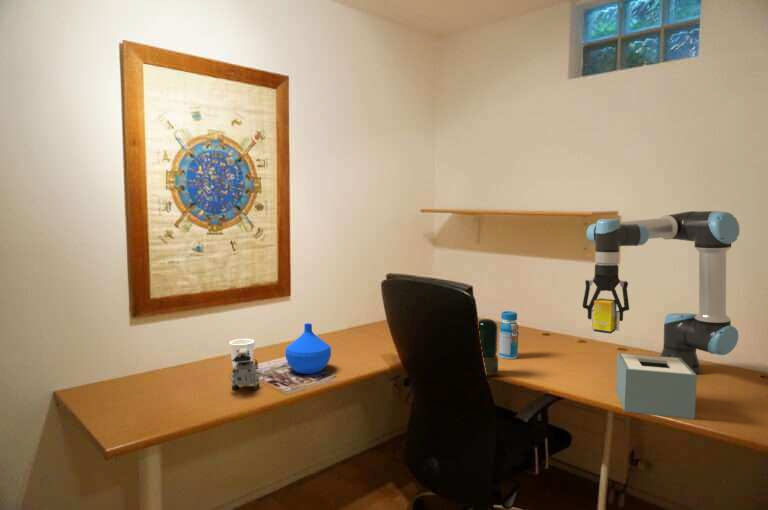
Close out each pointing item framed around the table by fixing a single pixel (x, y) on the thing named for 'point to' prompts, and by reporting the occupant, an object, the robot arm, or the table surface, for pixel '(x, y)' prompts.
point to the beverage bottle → (508, 335)
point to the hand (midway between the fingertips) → (604, 329)
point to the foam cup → (239, 344)
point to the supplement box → (604, 315)
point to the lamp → (489, 345)
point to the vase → (308, 353)
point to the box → (656, 385)
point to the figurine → (244, 370)
